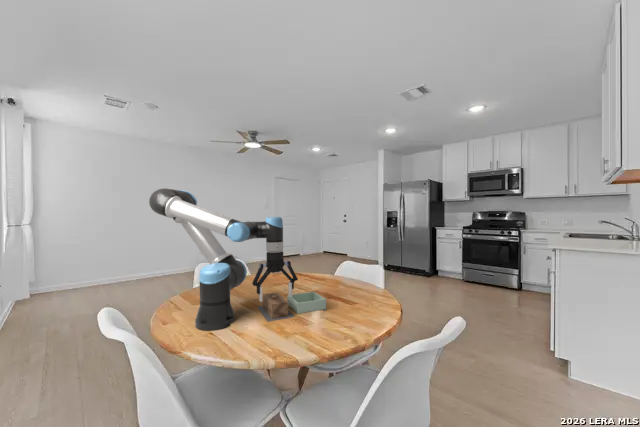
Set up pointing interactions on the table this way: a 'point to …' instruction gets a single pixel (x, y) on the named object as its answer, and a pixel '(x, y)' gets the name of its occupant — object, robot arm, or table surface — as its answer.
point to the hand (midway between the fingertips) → (275, 298)
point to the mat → (269, 315)
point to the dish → (306, 302)
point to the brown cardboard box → (275, 305)
